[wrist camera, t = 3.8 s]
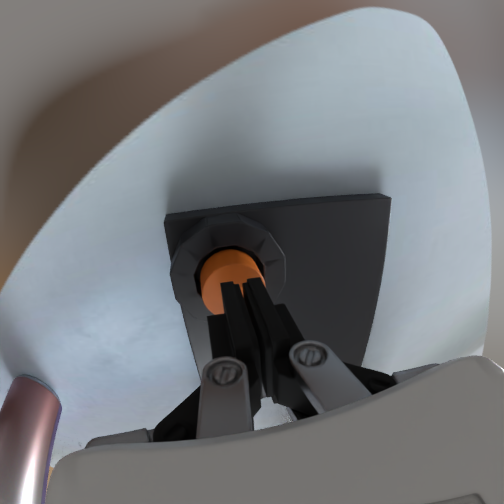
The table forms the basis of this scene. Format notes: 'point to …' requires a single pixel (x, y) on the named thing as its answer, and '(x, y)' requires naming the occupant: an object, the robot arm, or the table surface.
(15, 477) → the beverage can
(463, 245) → the table surface
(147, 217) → the table surface
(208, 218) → the push button plate
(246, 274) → the button
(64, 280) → the table surface
